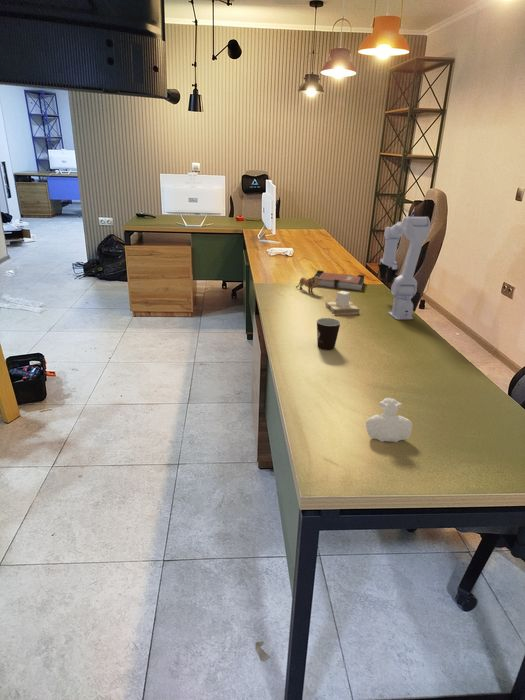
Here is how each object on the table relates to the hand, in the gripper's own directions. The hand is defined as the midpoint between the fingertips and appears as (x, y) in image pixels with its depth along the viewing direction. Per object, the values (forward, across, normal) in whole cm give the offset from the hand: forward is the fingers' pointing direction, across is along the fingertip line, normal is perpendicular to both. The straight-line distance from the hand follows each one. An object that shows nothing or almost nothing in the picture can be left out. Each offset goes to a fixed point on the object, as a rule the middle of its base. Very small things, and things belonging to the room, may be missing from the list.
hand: (385, 280), depth 233 cm
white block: (+8, -12, +26) cm, 30 cm away
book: (+11, +32, +12) cm, 36 cm away
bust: (+11, -113, +51) cm, 124 cm away
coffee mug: (+11, -52, +47) cm, 71 cm away
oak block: (+11, -12, +26) cm, 31 cm away
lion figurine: (+11, +19, +33) cm, 40 cm away
